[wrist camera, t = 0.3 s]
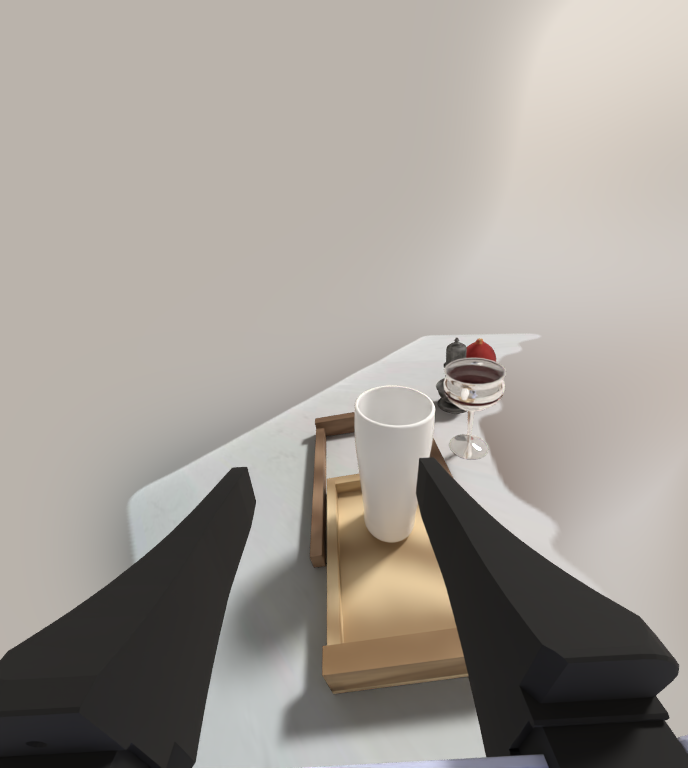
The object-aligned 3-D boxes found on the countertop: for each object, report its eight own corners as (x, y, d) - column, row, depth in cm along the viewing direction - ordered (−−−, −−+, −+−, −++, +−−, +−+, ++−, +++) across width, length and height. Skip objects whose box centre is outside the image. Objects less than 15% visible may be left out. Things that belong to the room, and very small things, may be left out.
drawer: (511, 670, 20) (519, 649, 18) (333, 693, 21) (322, 675, 19) (430, 475, 36) (430, 452, 34) (330, 491, 36) (324, 469, 34)
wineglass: (502, 439, 39) (514, 362, 33) (486, 472, 35) (496, 391, 29) (453, 424, 43) (456, 354, 37) (434, 452, 39) (433, 377, 33)
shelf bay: (478, 543, 28) (480, 525, 26) (314, 567, 29) (307, 551, 27) (418, 416, 46) (417, 401, 45) (319, 432, 47) (315, 418, 45)
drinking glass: (350, 543, 28) (343, 421, 21) (364, 491, 34) (363, 381, 27) (419, 560, 27) (436, 433, 20) (422, 502, 32) (436, 388, 25)
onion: (458, 370, 57) (460, 332, 53) (490, 369, 55) (494, 330, 51) (462, 385, 52) (464, 345, 48) (496, 385, 50) (501, 343, 46)
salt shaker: (470, 417, 44) (475, 347, 38) (432, 410, 47) (431, 344, 41) (475, 397, 48) (481, 330, 42) (440, 392, 51) (441, 329, 45)
